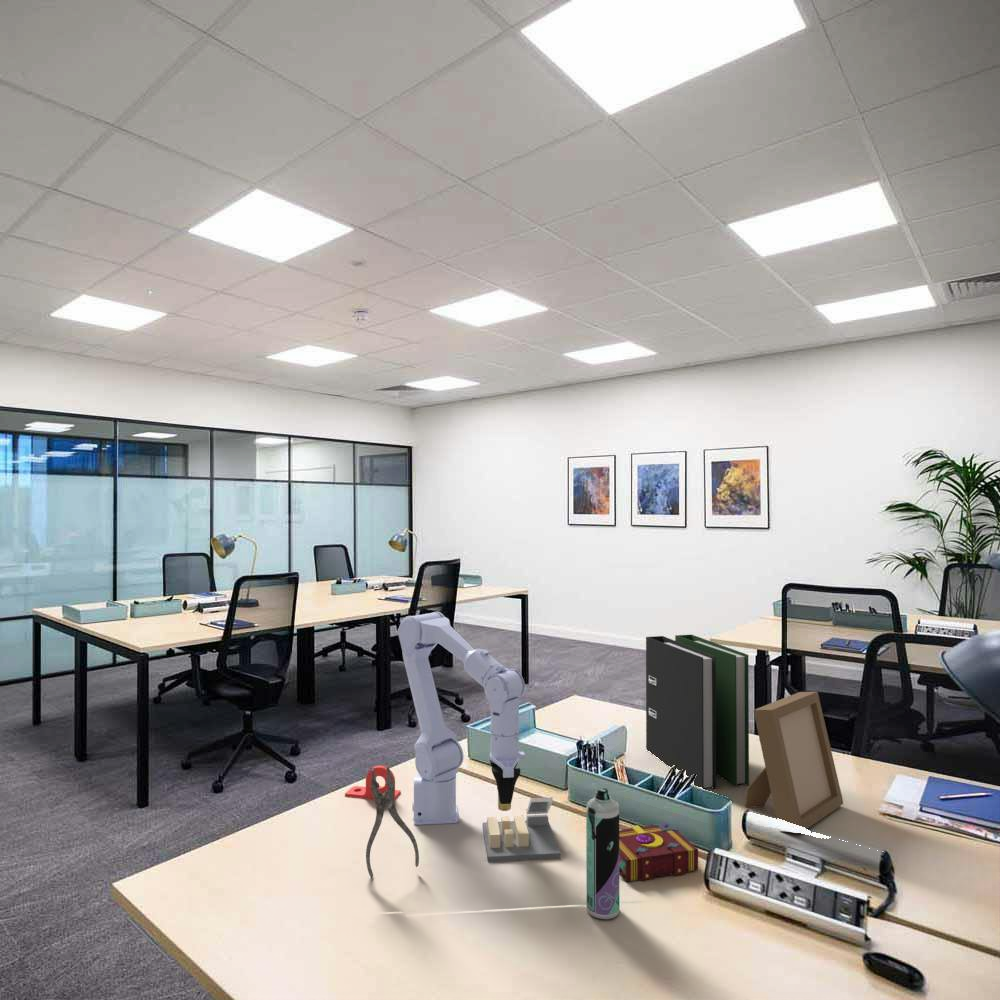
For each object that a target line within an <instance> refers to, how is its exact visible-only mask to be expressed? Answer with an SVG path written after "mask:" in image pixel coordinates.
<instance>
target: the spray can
mask: <svg viewBox="0 0 1000 1000" xmlns="http://www.w3.org/2000/svg"><path fill="white" fill-rule="evenodd" d="M585 811H586V812H585V813H586V815H585V816H586V817H585V818H586V821H585V822H586V825H585V826H586V827H585V828H586V850H585V851H586V852H585V853H586V873H585V874H586V887H585V888H586V911H587V912H588V914H590V915H591V916H592V917H593V918H596V919H600V920H611V919H614V918H616V917H617V916H619V913H620V873H619V830H620V807H619V803H618V801H616V800H615V799H612V797H611V796H610V795H609V790H608V788H600V789H597V793H596V795H594V797H592V798H590V799H589V800H588V801H586V810H585Z"/></svg>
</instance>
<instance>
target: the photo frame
mask: <svg viewBox="0 0 1000 1000" xmlns="http://www.w3.org/2000/svg"><path fill="white" fill-rule="evenodd" d="M752 710H753V715H754V719H755V724H756V730H757V734H758V737H759V738H758V739H759V742H760V743H759V744H760V748H761V752H762V756H763V762H764V765H765V766H764V768H763V769H762V771H760V773H759V774H758V775H757V776H755V778H754V779H753V780H752V782H750V783H749V786H747V787H746V793H745V800H744V801H745V802H744V807H745V808H755V807H758V808H759V807H765V805H766V803H767V801H768V799H769V797H770V795H771V800H772V803H773V808H774V809H773V810H774V813H775V818H776V819H777V818H779V819H782V820H785V821H787V822H790V823H793V824H796V825H799V826H802V827H805V828H808V829H809V828H811V827H812V826H813V825H815V824H816V823H818V822H819V821H821V820H822V819H823V818H825V817H826V816H828V815H829V814H831V813H832V812H834V811H836V809H838V808H840V807H841V806H842V805H843V804H844V800H843V795H842V790H841V786H840V781H839V778H838V773H837V769H836V765H835V761H834V756H833V750H832V748H831V744H830V739H829V735H828V731H827V727H826V726H827V725H826V722H825V718H824V713H823V709H822V706H821V701H820V696H819V692H818V691H799V692H796V693H794V694H792V695H789V696H786V697H783V698H781V699H778V700H776V701H773V702H770V703H767V704H765V705H762V706H761V707H757V708H755V709H752ZM753 806H755V807H753Z"/></svg>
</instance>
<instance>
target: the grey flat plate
mask: <svg viewBox="0 0 1000 1000" xmlns="http://www.w3.org/2000/svg"><path fill="white" fill-rule="evenodd" d="M553 802H554V800H553V797H550V796H549V797H532V798H530V799H529V803H528V805H527V808H526V815H547V814H548V813H549V811H550V810H551V806H552V804H553Z"/></svg>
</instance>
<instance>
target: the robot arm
mask: <svg viewBox="0 0 1000 1000" xmlns="http://www.w3.org/2000/svg"><path fill="white" fill-rule="evenodd" d="M397 634H398V635H397V636H398V640H399V643H400V648H401V651H402V653H401V654H402V660H403V663H404V667H405V672H406V676H407V679H408V684H409V688H410V692H411V696H412V701H413V705H414V709H415V713H416V717H417V721H418V725H419V729H420V733H421V734H420V736H419V738H418V739H417V741H416V742H415V744H414V746H413V748H414V753H415V758H414V760H415V761H414V764H415V769H416V771H417V773H418V775H414V778H413V802H412V810H411V811H412V812H413V825H414V826H417V825H420V826H423V825H440V824H441V825H444V824H458V823H459V813H458V812H459V811H458V805H457V774H458V773H459V767H460V766H461V765H462V764H463V763H464V757H465V756H464V751H463V748H462V746H461V744H460V743H459V741H458V739H457V735H456V732H454V731H453V730H451V729H450V728H448V727H447V726H446V725H445V720H444V716H443V715H444V714H443V712H442V708H441V704H440V700H439V695H438V692H437V688H436V685H435V680H434V677H433V672H432V668H431V664H430V660H429V656H430V655H431V652H432V651H433V650H434V648H435V647H436V646H437V645H438V644H439V645H440V646H442V648H444V649H445V650H447V651H448V652H449V653H451V654H452V655H454V656H455V657H456V658H457V659H459V661H461V662H463V670H464V671H465V673H467V674H468V675H469V676H470V677H472V679H474V680H475V681H476V683H478V684H479V685H481V687H482V688H483V690H484V694H485V697H486V698H487V700H488V709H489V711H490V752H489V759H490V760H489V763H490V764H489V765H490V766H491V773H492V775H493V777H494V779H495V782H496V788H497V794H498V793H499V799H500V803H501V804H511V805H512V801H513V798H514V797H513V796H514V792H515V791H514V790H515V787H516V784H517V781H518V779H519V777H520V774H521V769H520V767H519V768H518V767H517V766H518V763H519V761H520V760H521V759H525V757H526V754H525V752H524V751H520V697H521V696H522V695H523V694H524V692H525V688H526V687H525V685H526V683H525V680H524V678H523V676H522V674H521V673H520V672H519V671H518V669H515V668H507V667H505V666H504V665H503V664H502V663H500V662H498V660H496V659H495V658H493V656H491V655H490V651H488V650H487V649H483V648H476V649H474V648H473V646H472V645H470V644H469V643H468V642H467V641H466V639H464V638H463V636H462V635H460V634H459V633H458V632H457V631H456V630H455V629H454V628H453V627H452V626H451V621H450V619H449V618H448V617H446V616H445V614H443V613H442V612H440V611H433V612H431V613H430V612H429V613H423V614H419V615H408V616H405V617H403V619H401V622H400V624H399V627H398V629H397Z"/></svg>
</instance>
